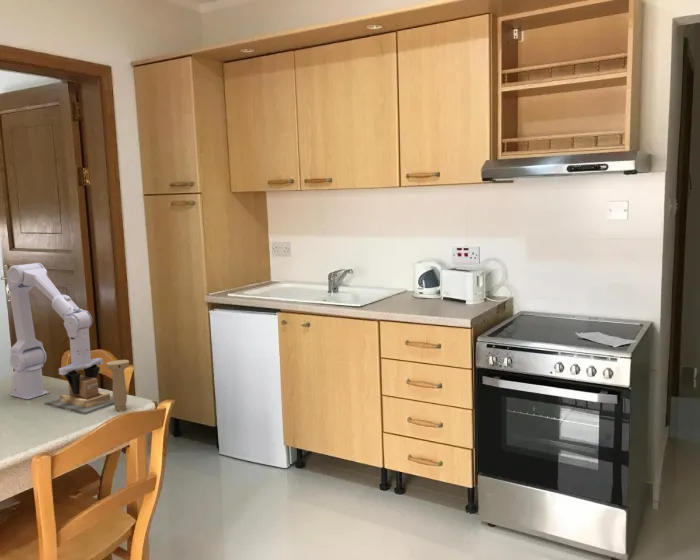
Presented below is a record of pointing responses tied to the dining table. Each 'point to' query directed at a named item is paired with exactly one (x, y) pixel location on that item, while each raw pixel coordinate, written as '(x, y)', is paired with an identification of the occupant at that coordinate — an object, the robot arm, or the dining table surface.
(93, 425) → the dining table surface
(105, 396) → the cradle
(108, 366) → the handle
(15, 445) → the dining table surface
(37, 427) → the dining table surface
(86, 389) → the cabinet block
